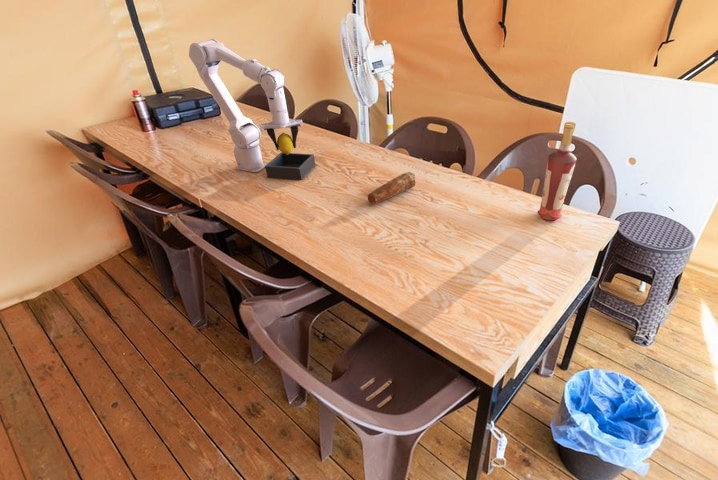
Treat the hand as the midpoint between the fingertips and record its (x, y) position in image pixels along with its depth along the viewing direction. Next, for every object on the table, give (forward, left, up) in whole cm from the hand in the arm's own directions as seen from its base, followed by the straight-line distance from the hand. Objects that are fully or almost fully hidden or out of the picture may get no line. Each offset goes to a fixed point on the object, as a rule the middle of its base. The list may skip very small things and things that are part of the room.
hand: (286, 148), depth 146 cm
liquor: (+94, -2, -10) cm, 94 cm away
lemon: (0, 0, -3) cm, 3 cm away
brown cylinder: (+44, -5, -10) cm, 45 cm away
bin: (0, +1, -9) cm, 9 cm away
